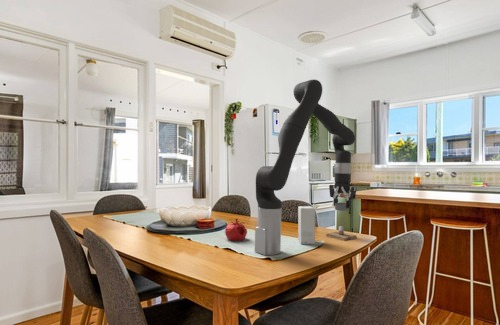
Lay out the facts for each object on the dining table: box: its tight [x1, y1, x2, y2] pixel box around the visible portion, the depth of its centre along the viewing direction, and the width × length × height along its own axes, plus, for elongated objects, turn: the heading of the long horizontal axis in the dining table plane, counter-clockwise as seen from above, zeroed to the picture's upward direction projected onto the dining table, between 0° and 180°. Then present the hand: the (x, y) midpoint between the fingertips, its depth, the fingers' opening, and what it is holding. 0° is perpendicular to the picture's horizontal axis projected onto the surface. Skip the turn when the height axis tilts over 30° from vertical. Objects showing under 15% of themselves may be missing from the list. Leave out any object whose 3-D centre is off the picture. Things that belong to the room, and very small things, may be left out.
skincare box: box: [297, 205, 316, 245], centre depth 136 cm, size 8×7×16 cm
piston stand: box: [325, 225, 357, 242], centre depth 148 cm, size 10×10×5 cm
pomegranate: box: [224, 217, 248, 242], centre depth 138 cm, size 10×10×9 cm
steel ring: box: [334, 202, 350, 212], centre depth 148 cm, size 6×6×3 cm
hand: (341, 207), depth 148 cm, fingers closed on steel ring, 6 cm apart
